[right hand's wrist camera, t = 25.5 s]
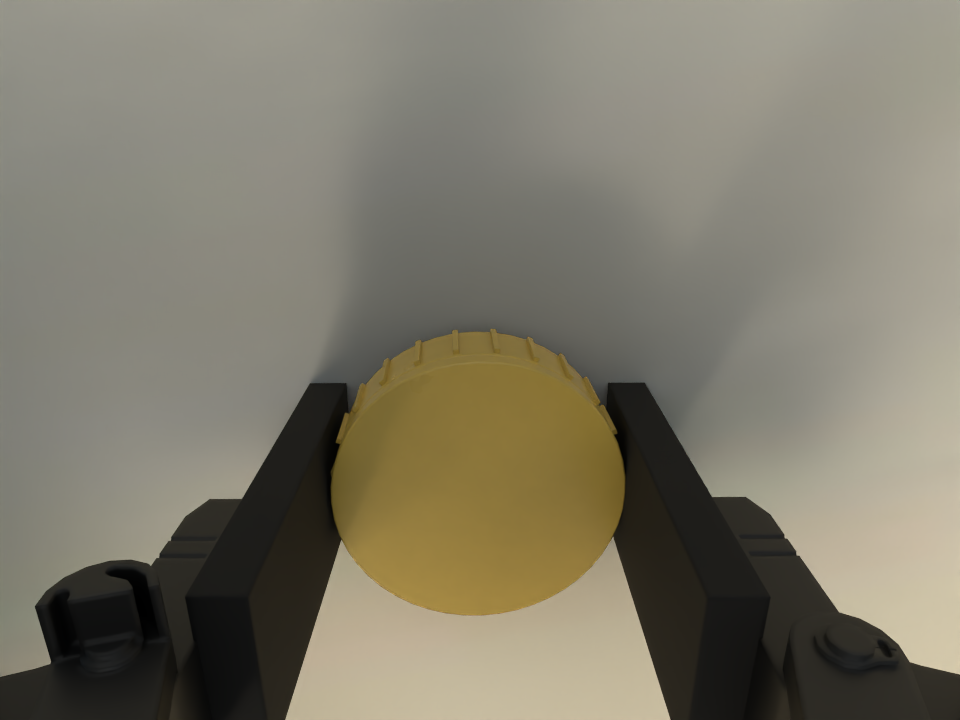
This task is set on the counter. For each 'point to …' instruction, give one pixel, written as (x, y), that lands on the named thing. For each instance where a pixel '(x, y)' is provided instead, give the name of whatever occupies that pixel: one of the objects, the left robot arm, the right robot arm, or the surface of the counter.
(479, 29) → the counter surface
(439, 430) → the lid
